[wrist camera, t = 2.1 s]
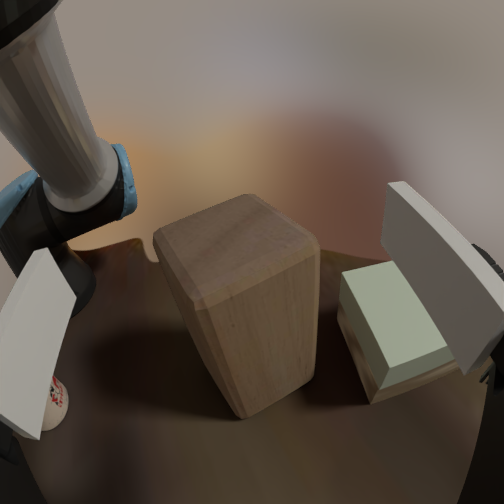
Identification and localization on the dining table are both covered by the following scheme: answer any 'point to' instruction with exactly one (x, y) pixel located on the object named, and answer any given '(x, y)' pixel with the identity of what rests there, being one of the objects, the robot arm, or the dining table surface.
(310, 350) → the block
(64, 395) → the teacup with lid
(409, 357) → the tower top slab
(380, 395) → the tower base slab
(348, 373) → the dining table surface
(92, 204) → the robot arm
